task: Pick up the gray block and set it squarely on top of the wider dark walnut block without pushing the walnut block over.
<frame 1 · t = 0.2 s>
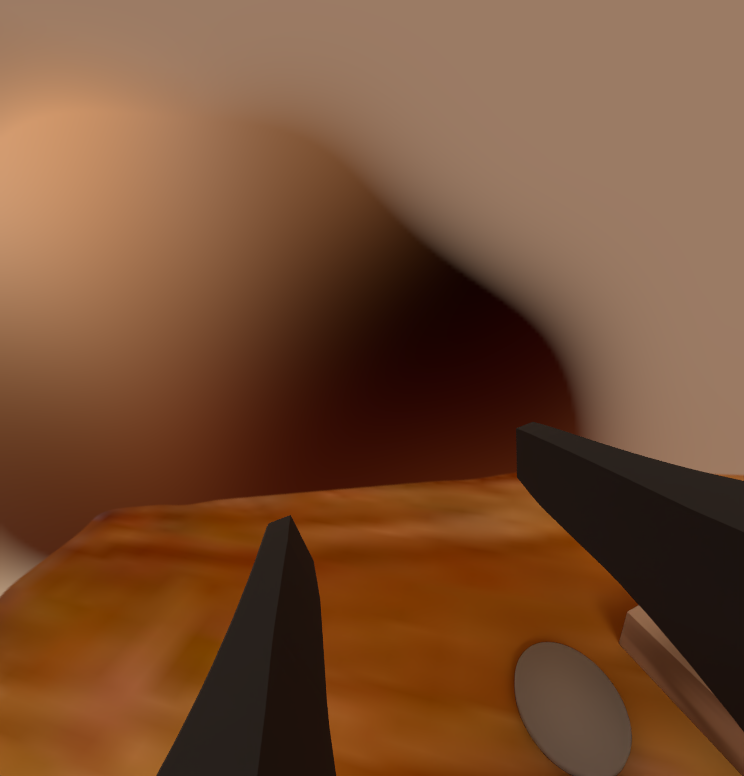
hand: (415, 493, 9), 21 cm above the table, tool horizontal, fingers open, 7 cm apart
smooth gray stone: (566, 708, 19), on the table
walnut block: (710, 677, 19), on the table
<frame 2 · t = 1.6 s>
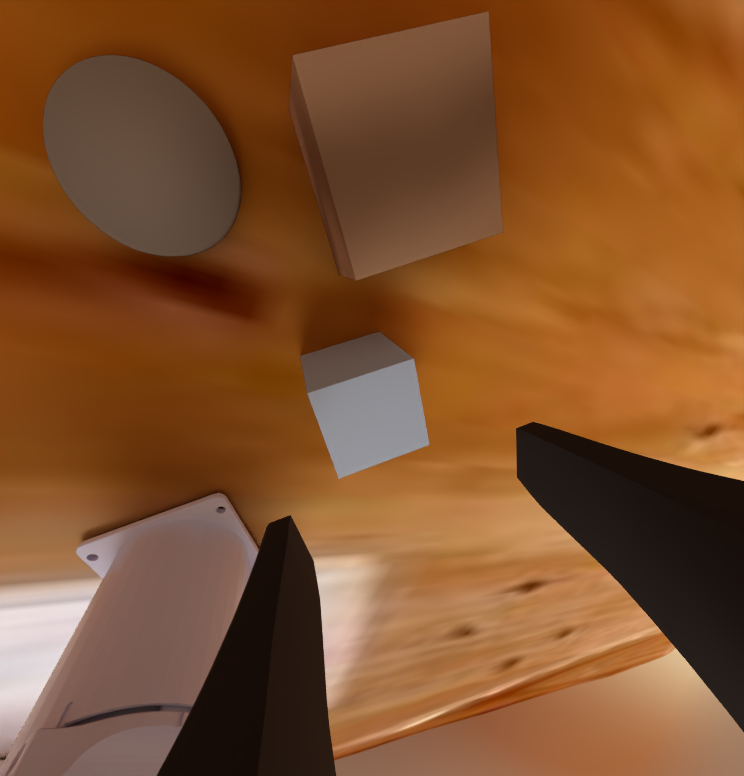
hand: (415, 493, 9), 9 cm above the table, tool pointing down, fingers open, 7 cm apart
smooth gray stone: (160, 174, 12), on the table
gray block: (350, 379, 18), on the table
walnut block: (382, 182, 14), on the table
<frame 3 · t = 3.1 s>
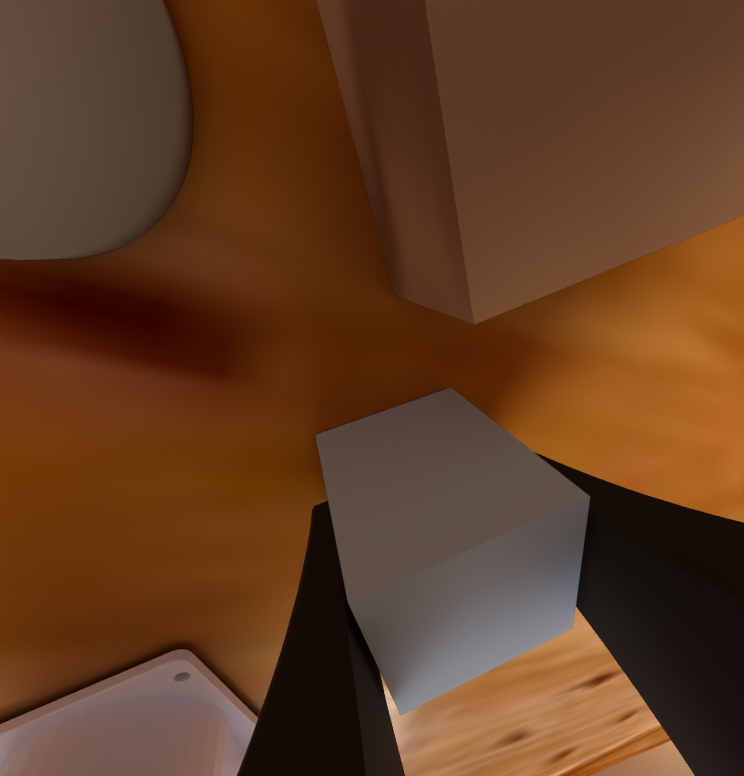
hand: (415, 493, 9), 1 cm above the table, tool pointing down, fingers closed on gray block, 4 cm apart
gray block: (398, 465, 11), on the table, touching gripper
walnut block: (480, 113, 7), on the table
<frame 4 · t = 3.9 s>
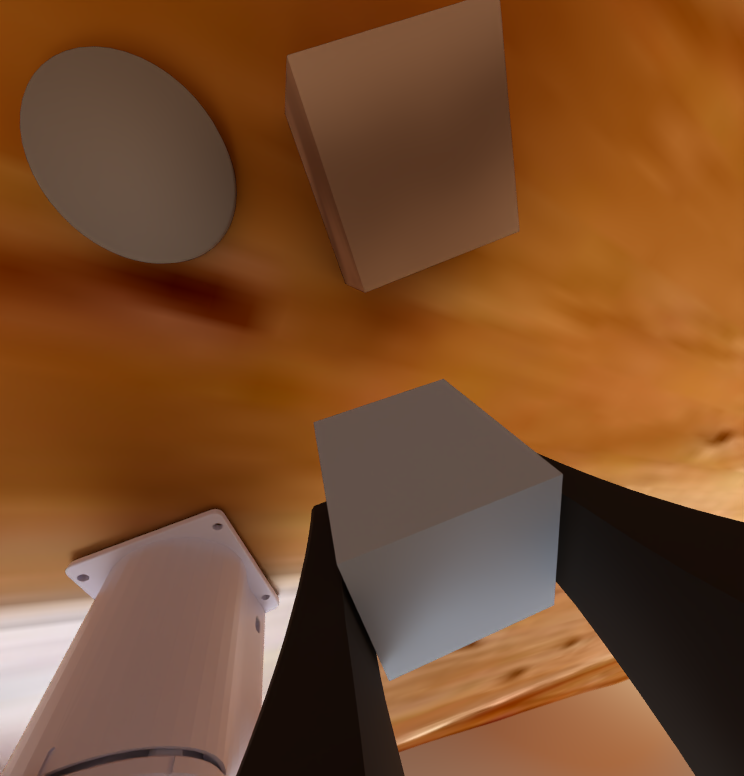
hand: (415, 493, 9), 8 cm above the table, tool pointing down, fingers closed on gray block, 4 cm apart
smooth gray stone: (150, 175, 11), on the table
gray block: (393, 453, 11), point 6 cm above the table, touching gripper
walnut block: (386, 183, 14), on the table
when the fingers open (7 cm above the table, at t = 5.2 s): gray block stays where it is, point 4 cm above the table.
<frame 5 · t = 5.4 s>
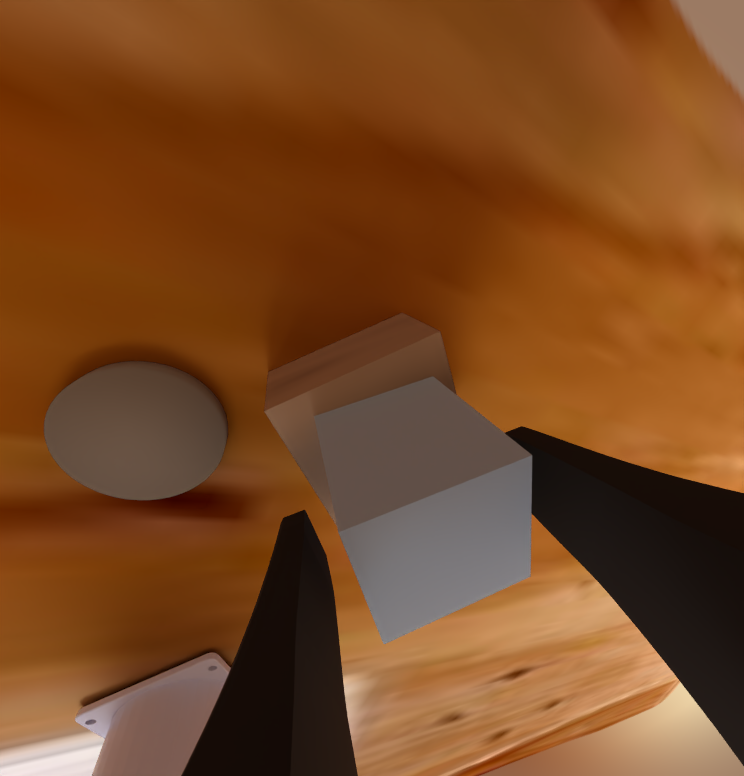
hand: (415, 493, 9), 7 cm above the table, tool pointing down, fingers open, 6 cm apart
smooth gray stone: (153, 425, 13), on the table
gray block: (387, 445, 12), point 4 cm above the table
walnut block: (361, 398, 15), on the table
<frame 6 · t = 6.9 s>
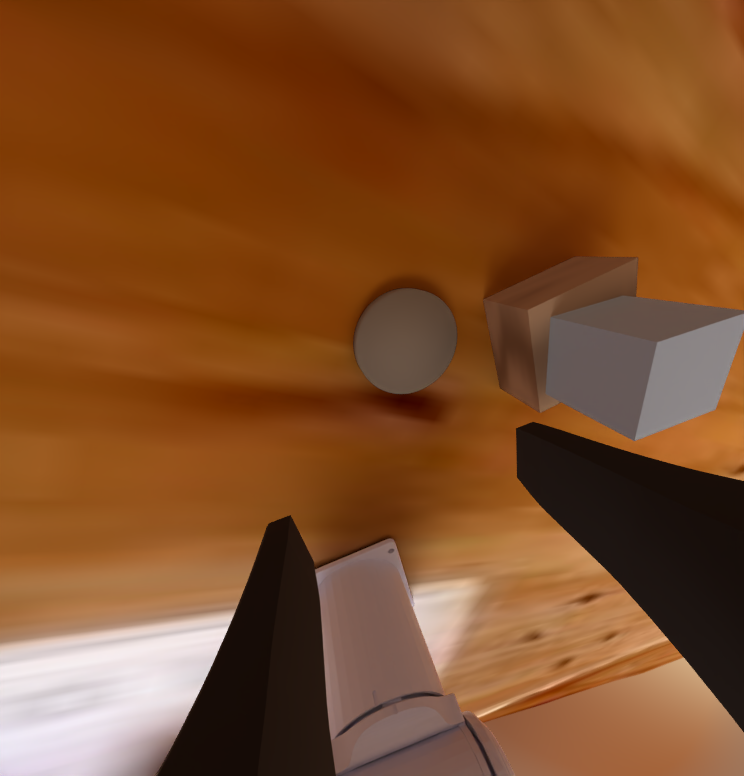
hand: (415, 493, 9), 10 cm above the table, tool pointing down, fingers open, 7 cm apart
smooth gray stone: (401, 339, 18), on the table
gray block: (582, 346, 17), point 4 cm above the table, touching walnut block
walnut block: (532, 325, 20), on the table, touching gray block
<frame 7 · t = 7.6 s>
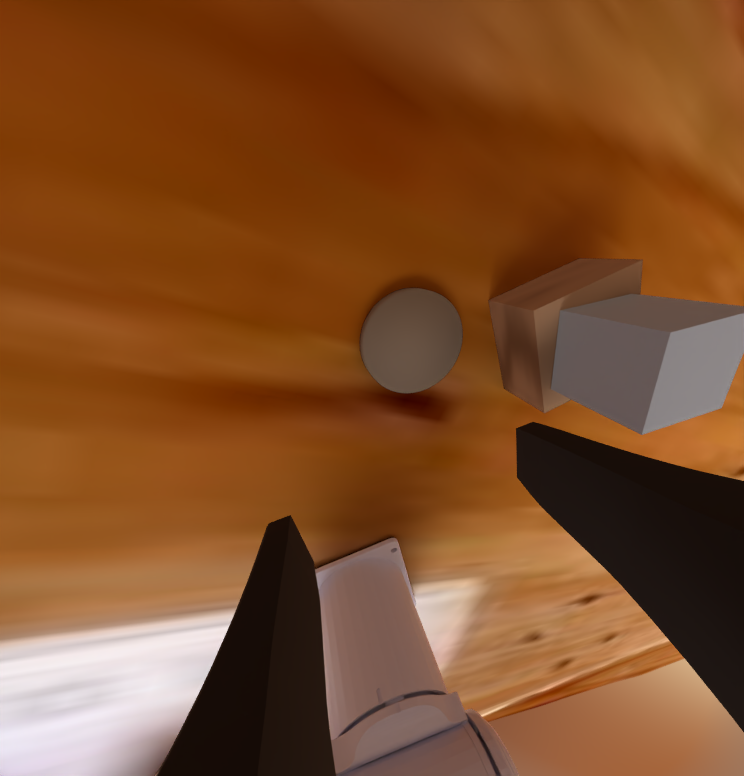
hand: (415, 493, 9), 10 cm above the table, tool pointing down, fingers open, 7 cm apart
smooth gray stone: (407, 339, 18), on the table
gray block: (589, 343, 17), point 4 cm above the table
walnut block: (536, 326, 21), on the table
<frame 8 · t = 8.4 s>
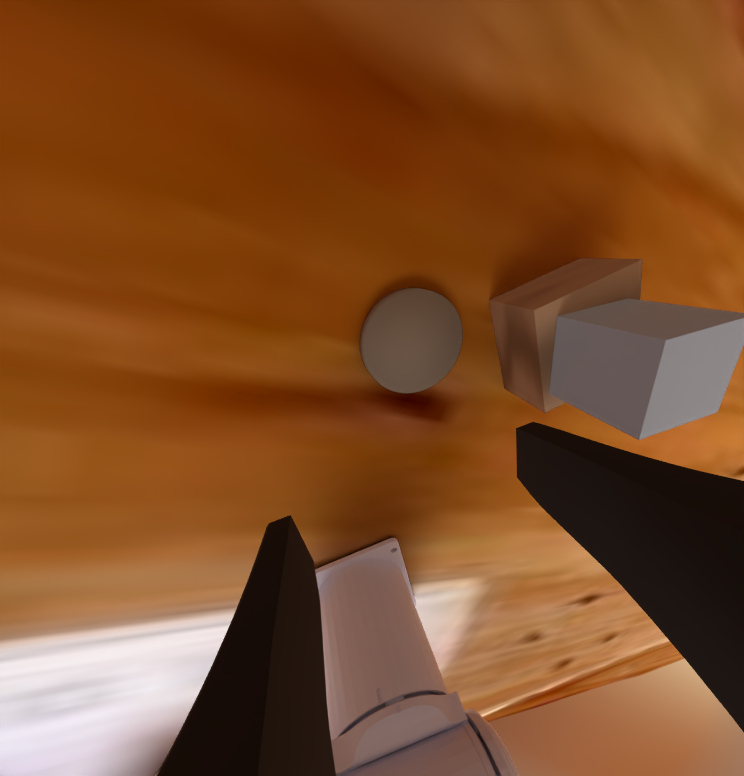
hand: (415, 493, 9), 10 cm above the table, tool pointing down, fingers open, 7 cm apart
smooth gray stone: (407, 339, 18), on the table
gray block: (587, 347, 17), point 4 cm above the table
walnut block: (536, 326, 21), on the table
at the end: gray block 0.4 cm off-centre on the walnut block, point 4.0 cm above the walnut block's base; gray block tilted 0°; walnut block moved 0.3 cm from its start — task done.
